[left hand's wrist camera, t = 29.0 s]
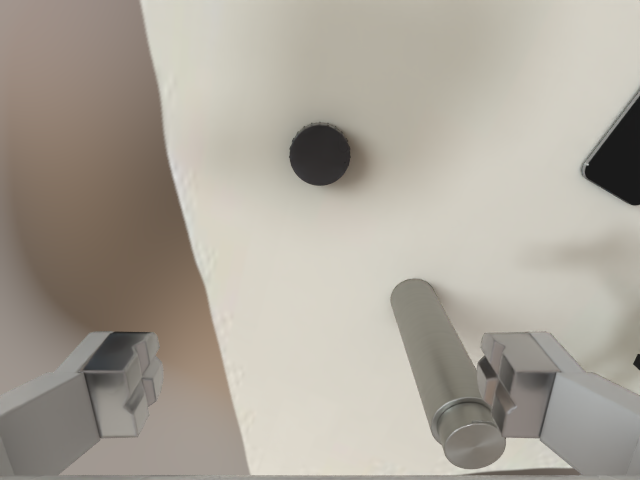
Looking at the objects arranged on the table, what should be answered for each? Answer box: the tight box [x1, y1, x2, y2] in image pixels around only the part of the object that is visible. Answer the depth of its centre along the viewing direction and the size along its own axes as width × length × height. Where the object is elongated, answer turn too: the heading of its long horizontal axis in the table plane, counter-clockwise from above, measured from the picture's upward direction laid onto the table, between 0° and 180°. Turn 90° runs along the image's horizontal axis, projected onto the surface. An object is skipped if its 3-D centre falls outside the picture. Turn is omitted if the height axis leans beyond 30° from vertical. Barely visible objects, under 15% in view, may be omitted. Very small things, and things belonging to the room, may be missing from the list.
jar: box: [391, 279, 506, 469], centre depth 35 cm, size 5×5×19 cm
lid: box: [289, 122, 350, 186], centre depth 37 cm, size 5×5×2 cm
